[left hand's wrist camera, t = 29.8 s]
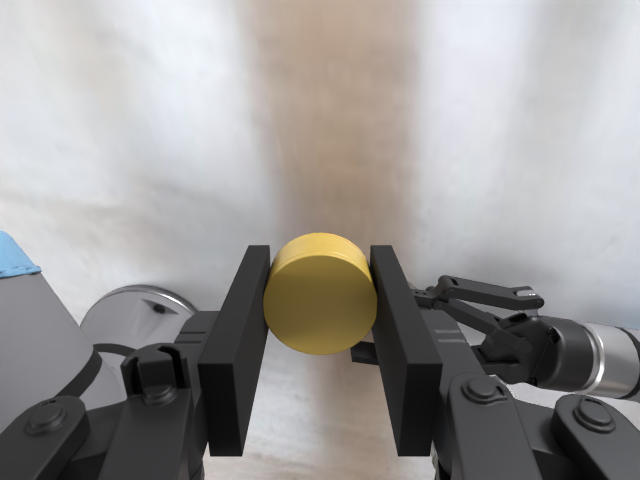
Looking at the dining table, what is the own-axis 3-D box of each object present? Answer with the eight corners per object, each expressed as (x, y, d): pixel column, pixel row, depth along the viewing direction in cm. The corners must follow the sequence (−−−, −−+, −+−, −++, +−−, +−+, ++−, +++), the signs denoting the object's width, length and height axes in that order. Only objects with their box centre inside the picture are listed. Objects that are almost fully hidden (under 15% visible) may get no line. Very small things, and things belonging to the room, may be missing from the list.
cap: (252, 253, 14) (242, 278, 12) (350, 216, 14) (355, 237, 12) (293, 334, 16) (289, 368, 14) (384, 304, 15) (393, 335, 13)
